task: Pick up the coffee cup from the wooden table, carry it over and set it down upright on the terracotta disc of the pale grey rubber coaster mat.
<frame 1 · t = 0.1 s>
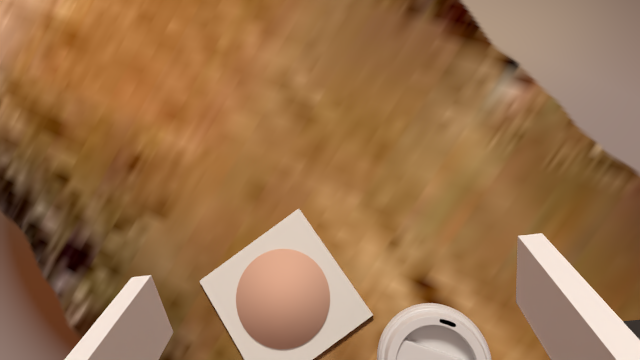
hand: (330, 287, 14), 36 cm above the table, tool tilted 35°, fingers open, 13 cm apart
coaster mat: (283, 297, 49), on the table
coffee cup: (419, 336, 46), on the table
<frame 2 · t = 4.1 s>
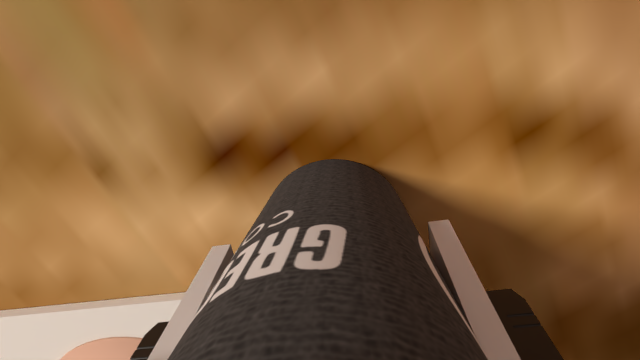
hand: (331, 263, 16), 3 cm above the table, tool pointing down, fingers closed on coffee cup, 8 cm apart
coffee cup: (334, 221, 19), on the table, touching gripper
when the fingers open (5 cm above the table, at t = 11.2 s): coffee cup stays where it is, resting on coaster mat.
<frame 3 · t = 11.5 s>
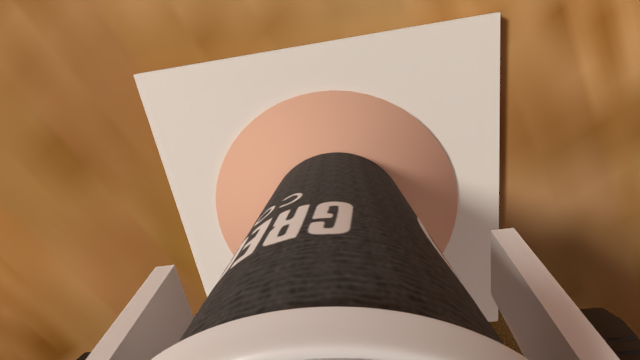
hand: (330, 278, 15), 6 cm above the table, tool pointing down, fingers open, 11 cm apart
coaster mat: (334, 205, 20), on the table
coffee cup: (337, 212, 20), point 1 cm above the table, touching coaster mat
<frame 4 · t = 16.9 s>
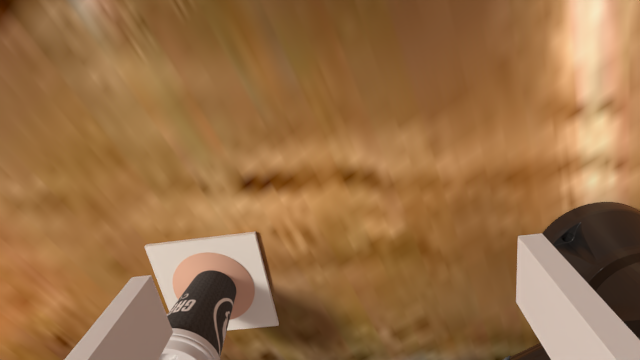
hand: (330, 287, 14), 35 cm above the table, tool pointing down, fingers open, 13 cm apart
coaster mat: (215, 285, 57), on the table
coffee cup: (214, 287, 57), point 1 cm above the table, touching coaster mat
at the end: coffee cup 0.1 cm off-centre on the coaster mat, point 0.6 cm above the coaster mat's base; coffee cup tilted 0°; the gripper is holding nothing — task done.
